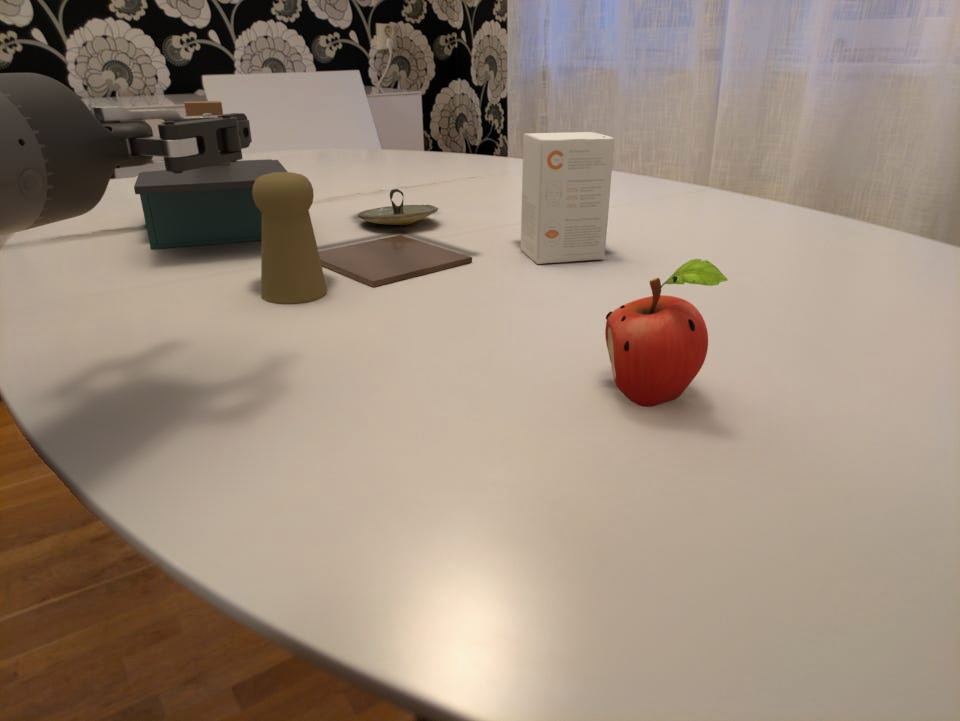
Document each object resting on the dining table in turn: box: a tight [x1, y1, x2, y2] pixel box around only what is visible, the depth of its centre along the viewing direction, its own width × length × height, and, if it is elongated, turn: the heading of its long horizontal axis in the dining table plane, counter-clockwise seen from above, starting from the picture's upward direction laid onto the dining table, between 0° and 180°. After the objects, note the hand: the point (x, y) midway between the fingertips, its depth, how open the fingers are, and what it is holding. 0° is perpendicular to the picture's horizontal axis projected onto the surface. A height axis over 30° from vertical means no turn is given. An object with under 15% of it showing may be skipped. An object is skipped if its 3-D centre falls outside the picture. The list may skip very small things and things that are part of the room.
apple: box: [604, 258, 729, 408], centre depth 42 cm, size 8×7×10 cm
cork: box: [252, 171, 328, 305], centre depth 61 cm, size 6×6×11 cm
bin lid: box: [133, 100, 288, 195], centre depth 75 cm, size 16×14×8 cm
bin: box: [139, 158, 273, 250], centre depth 83 cm, size 16×14×8 cm
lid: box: [357, 188, 439, 226], centre depth 88 cm, size 11×10×5 cm
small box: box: [520, 131, 615, 265], centre depth 73 cm, size 8×6×13 cm
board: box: [318, 234, 473, 288], centre depth 73 cm, size 13×13×1 cm
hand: (190, 127), depth 47 cm, fingers open, 8 cm apart
